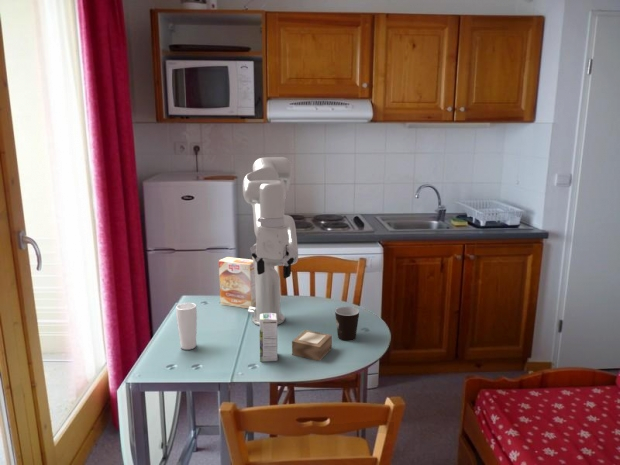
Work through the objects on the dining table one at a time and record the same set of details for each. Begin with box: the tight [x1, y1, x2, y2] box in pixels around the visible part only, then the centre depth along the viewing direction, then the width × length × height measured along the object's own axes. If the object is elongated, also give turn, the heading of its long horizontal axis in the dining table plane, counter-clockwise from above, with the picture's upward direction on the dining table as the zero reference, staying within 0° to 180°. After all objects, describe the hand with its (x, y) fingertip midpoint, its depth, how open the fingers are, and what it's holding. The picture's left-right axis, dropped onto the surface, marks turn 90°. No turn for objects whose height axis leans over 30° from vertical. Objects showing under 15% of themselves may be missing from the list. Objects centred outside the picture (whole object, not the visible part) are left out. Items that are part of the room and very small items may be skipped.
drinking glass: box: [175, 302, 198, 351], centre depth 168 cm, size 7×7×15 cm
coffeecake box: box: [218, 256, 256, 310], centre depth 207 cm, size 15×7×20 cm, turn 68°
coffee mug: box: [334, 306, 360, 342], centre depth 177 cm, size 12×9×10 cm
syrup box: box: [258, 313, 278, 363], centre depth 160 cm, size 6×6×14 cm
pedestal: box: [291, 329, 333, 362], centre depth 165 cm, size 10×10×5 cm
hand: (273, 275), depth 157 cm, fingers open, 9 cm apart
